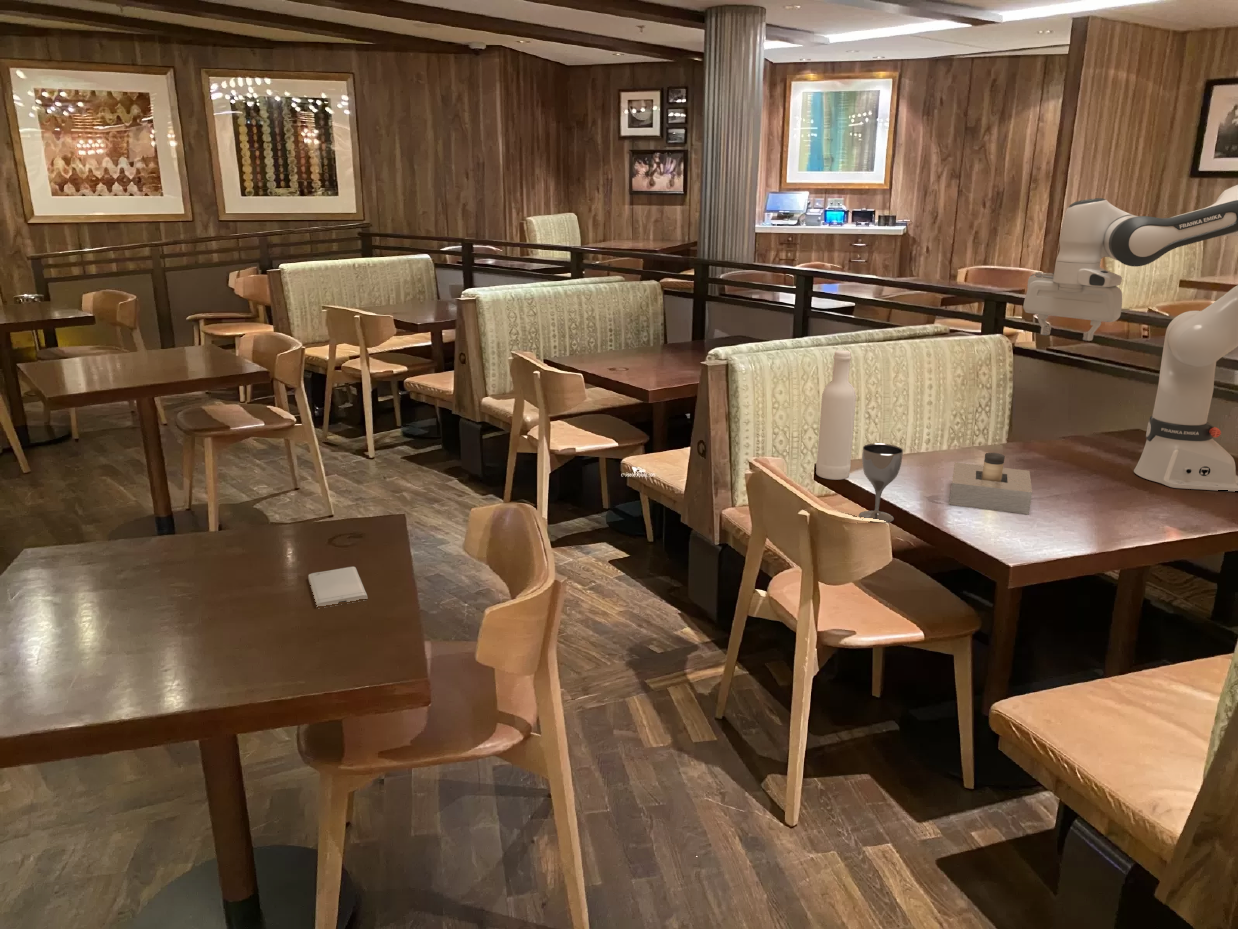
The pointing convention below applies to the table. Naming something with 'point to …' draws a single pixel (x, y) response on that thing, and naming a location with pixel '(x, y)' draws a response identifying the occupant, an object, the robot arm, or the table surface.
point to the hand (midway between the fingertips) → (1065, 337)
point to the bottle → (836, 422)
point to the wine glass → (880, 472)
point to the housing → (991, 489)
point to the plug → (993, 467)
